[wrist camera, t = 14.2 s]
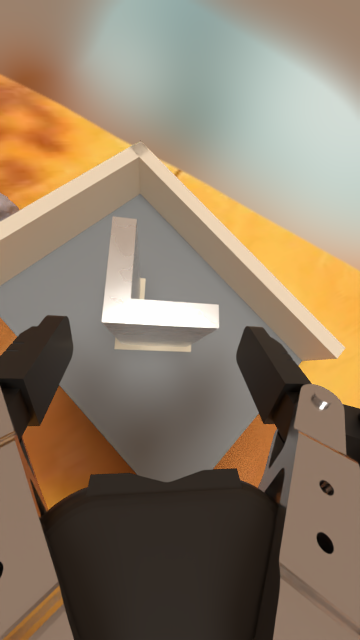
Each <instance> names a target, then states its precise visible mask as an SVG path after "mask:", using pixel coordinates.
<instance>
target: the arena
mask: <svg viewBox="0 0 360 640" xmlns="http://www.w3.org/2000/svg"><path fill="white" fill-rule="evenodd" d="M113 216H114V217H123V218H131V219H137V232H138V249H139V265H140V282H141V287H140V299H143V300H158V301H172V302H187V303H202V304H217V305H219V329H217V330H215V331H214V332H212V333H210V334H208V335H207V336H205V337H203V338H202V339H200V340H198V341H196V342H195V343H193V344H191V345H190V346H188V347H166V346H141V345H122V344H121V343H120V342H119V341H118V340H117V339H116V338H115V336H114V335H113V334H112V333H111V332H110V331H109V330H108V329H107V328H106V327H105V325H104V324H103V323H102V313H103V303H104V294H105V285H106V275H107V266H108V256H109V247H110V237H111V228H112V218H113ZM47 315H56V316H67V317H68V318H69V322H70V328H71V334H72V340H73V355H72V358H71V361H70V363H69V365H68V367H67V369H66V371H65V373H64V375H63V378H62V380H61V382H60V384H59V385H60V386H61V388H62V389H63V390H64V391H65V392H66V393H67V394H68V396H69V397H70V398H71V399H72V400H73V401H74V403H75V404H76V405H77V406H78V407H79V408H80V409H81V411H82V412H83V413H84V414H85V415H86V416H87V417H88V419H89V420H90V421H91V422H92V423H93V424H94V426H95V427H96V428H97V429H98V430H99V431H100V432H101V434H102V435H103V436H104V437H105V438H106V439H107V441H108V442H109V443H110V444H111V445H112V446H113V447H114V449H115V450H116V451H117V452H118V453H119V454H120V456H121V457H122V458H123V459H124V460H125V461H126V462H127V464H128V465H129V466H130V467H131V468H132V469H133V470H134V472H135V473H136V474H137V475H139V476H143V477H147V478H150V479H154V480H158V481H162V482H171V481H174V480H177V479H180V478H182V477H185V476H188V475H191V474H193V473H196V472H199V471H202V470H212V469H213V468H214V467H215V466H216V464H217V463H218V462H219V461H220V460H221V458H222V457H223V456H224V455H225V454H226V452H227V451H228V450H229V449H230V447H231V446H232V445H233V444H234V443H235V441H236V440H237V439H238V438H239V437H240V435H241V434H242V433H243V432H244V431H245V429H246V428H247V427H248V426H249V424H250V423H251V422H252V421H253V420H254V418H255V417H256V416H257V415H258V414H259V412H258V410H257V407H256V405H255V403H254V401H253V398H252V396H251V394H250V392H249V389H248V387H247V385H246V382H245V380H244V378H243V376H242V373H241V371H240V369H239V367H238V364H237V361H236V353H237V349H238V346H239V343H240V340H241V337H242V334H243V331H244V328H245V327H246V326H255V327H263V328H264V329H265V330H266V332H267V333H268V334H269V336H270V337H271V338H274V339H275V340H277V341H278V342H279V343H280V344H282V345H283V347H284V348H285V349H286V351H287V352H288V354H289V355H290V356H291V357H292V359H293V361H295V362H296V364H297V365H299V364H300V363H301V361H307V360H322V359H337V358H338V357H339V355H340V354H341V353H342V352H343V350H344V349H345V347H344V346H343V345H342V344H341V343H340V342H339V341H338V340H337V339H336V338H335V337H334V336H333V335H332V334H331V333H330V332H329V331H328V330H327V329H326V328H325V327H324V326H323V325H322V324H321V323H320V322H319V321H318V320H317V319H316V318H315V317H314V316H313V315H312V314H311V313H310V312H309V311H308V310H307V309H306V308H305V307H304V306H303V305H302V304H301V303H300V302H299V301H298V300H297V299H296V298H295V297H294V296H293V295H292V294H291V293H290V292H289V291H288V289H287V288H286V287H285V286H284V285H283V284H282V283H281V282H280V281H279V280H278V279H277V278H276V277H275V276H274V275H273V274H272V273H271V272H270V271H269V270H268V269H267V268H266V267H265V266H264V265H263V264H262V263H261V262H260V261H259V260H258V259H257V258H256V257H255V256H254V255H253V254H252V253H251V252H250V251H249V250H248V249H247V248H246V247H245V246H244V245H243V244H242V243H241V242H240V241H239V240H238V239H237V238H236V237H235V236H234V235H233V234H232V233H231V232H230V231H229V230H228V229H227V228H226V227H225V226H224V225H223V224H222V223H221V222H220V221H219V220H218V219H217V218H216V217H215V216H214V215H213V214H212V213H211V212H210V211H209V210H208V209H207V208H206V207H205V206H204V205H203V204H202V203H201V202H200V201H199V199H198V198H197V197H196V196H195V195H194V194H193V193H192V192H191V191H190V190H189V189H188V188H187V187H186V186H185V185H184V184H183V183H182V182H181V181H180V180H179V179H178V178H177V177H176V176H175V175H174V174H173V173H172V172H171V171H170V170H169V169H168V168H167V167H166V166H165V165H164V164H163V163H162V162H161V161H160V160H159V159H158V158H157V157H156V156H155V155H154V154H153V153H152V152H151V151H150V150H149V149H148V148H147V147H146V146H145V145H144V144H143V143H142V142H141V141H139V142H137V143H136V144H134V145H132V146H130V147H129V148H127V149H125V150H124V151H122V152H120V153H118V154H117V155H115V156H113V157H111V158H110V159H108V160H106V161H105V162H103V163H101V164H99V165H98V166H96V167H94V168H92V169H91V170H89V171H87V172H85V173H84V174H82V175H80V176H79V177H77V178H75V179H73V180H72V181H70V182H68V183H66V184H65V185H63V186H61V187H60V188H58V189H56V190H54V191H53V192H51V193H49V194H47V195H46V196H44V197H42V198H40V199H39V200H37V201H35V202H34V203H32V204H30V205H28V206H27V207H25V208H23V209H21V210H20V211H18V212H16V213H15V214H13V215H11V216H9V217H8V218H6V219H4V220H2V221H1V222H0V317H1V318H2V320H3V321H4V322H5V323H6V324H7V325H8V326H9V328H10V329H11V330H12V331H13V332H14V333H15V335H16V336H17V337H18V336H19V334H20V333H22V332H23V331H25V330H27V329H29V328H30V327H32V326H38V325H39V324H40V323H41V321H42V320H43V319H44V318H45V317H46V316H47Z"/></svg>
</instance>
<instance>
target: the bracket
mask: <svg viewBox="0 0 360 640" xmlns="http://www.w3.org/2000/svg"><path fill="white" fill-rule="evenodd" d="M140 287H141V282H140V265H139V249H138V232H137V219H131V218H123V217H114V216H113V218H112V228H111V237H110V247H109V256H108V266H107V275H106V285H105V294H104V303H103V313H102V323H103V324H104V325H105V327H106V328H107V329H108V330H109V331H110V332H111V333H112V334H113V335H114V336H115V338H116V339H117V340H118V341H119V342H120V343H121V344H122V345H141V346H166V347H188V346H190V345H191V344H193V343H195V342H196V341H198V340H200V339H202V338H203V337H205V336H207V335H208V334H210V333H212V332H214V331H215V330H217V329H219V305H217V304H202V303H187V302H172V301H158V300H143V299H140Z"/></svg>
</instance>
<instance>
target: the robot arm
mask: <svg viewBox="0 0 360 640" xmlns="http://www.w3.org/2000/svg"><path fill="white" fill-rule="evenodd" d="M72 355H73V340H72V334H71V328H70V322H69V318H68V317H67V316H56V315H47V316H46V317H45V318H44V319H43V320H42V321H41V323H40V324H39V325H38V326H32V327H30V328H29V329H27V330H25V331H23V332H22V333H20V334H19V336H18V337H17V338H16V339H15V340H14V341H13V344H11V345H10V346H9V347H8V348H7V349H6V351H5V352H4V353H3V354H2V355H1V356H0V640H360V409H359V408H355V407H351V406H348V405H344V404H342V402H341V401H340V400H339V399H338V398H337V396H335V395H334V394H333V393H332V392H330V391H329V390H327V389H325V388H323V387H321V386H318V385H314V384H312V383H311V382H310V381H309V380H308V378H307V377H306V376H305V374H304V373H303V372H302V370H301V369H300V368H299V366H298V365H297V364H296V362H295V361H293V359H292V357H291V356H290V355H289V354H288V352H287V351H286V349H285V348H284V347H283V345H282V344H280V343H279V342H278V341H277V340H275V339H274V338H271V337H270V336H269V334H268V333H267V332H266V330H265V329H264V328H263V327H255V326H246V327H245V328H244V331H243V334H242V337H241V340H240V343H239V346H238V349H237V353H236V361H237V364H238V367H239V369H240V371H241V373H242V376H243V378H244V380H245V382H246V385H247V387H248V389H249V392H250V394H251V396H252V398H253V401H254V403H255V405H256V407H257V410H258V412H259V414H260V417H261V419H262V421H263V423H264V424H275V425H276V427H277V430H276V431H275V434H274V437H273V441H272V445H271V449H270V452H269V456H268V460H267V464H266V468H265V471H264V474H263V477H262V480H261V482H260V484H259V486H258V488H257V487H255V486H253V485H251V484H249V483H246V482H244V481H241V480H240V478H239V475H238V471H237V468H236V469H213V470H202V471H199V472H196V473H193V474H191V475H188V476H185V477H182V478H180V479H177V480H174V481H171V482H162V481H158V480H154V479H150V478H147V477H143V476H139V475H135V474H131V473H118V474H95V475H91V476H90V480H89V485H88V487H87V488H84V489H81V490H79V491H77V492H75V493H73V494H71V495H69V496H68V497H66V498H64V499H63V500H61V501H60V502H58V503H57V504H56V505H54V506H53V507H52V508H50V509H49V510H48V508H47V505H46V503H45V500H44V497H43V495H42V492H41V490H40V487H39V484H38V481H37V478H36V475H35V472H34V469H33V467H32V464H31V461H30V458H29V455H28V452H27V449H26V446H25V443H24V440H23V437H22V435H23V433H24V431H25V429H26V427H27V426H40V424H41V422H42V420H43V418H44V416H45V414H46V412H47V410H48V407H49V405H50V403H51V401H52V399H53V397H54V395H55V392H56V390H57V388H58V386H59V384H60V382H61V380H62V378H63V375H64V373H65V371H66V369H67V367H68V365H69V363H70V361H71V358H72Z"/></svg>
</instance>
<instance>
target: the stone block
mask: <svg viewBox="0 0 360 640" xmlns="http://www.w3.org/2000/svg"><path fill="white" fill-rule="evenodd" d="M18 211H20V210H19V208H18V207H17V206H16V205H15V204H14V203H13V202H11V201H10V200H8V197H6V196H4V195H3V194H1V193H0V222H1V221H2V220H4V219H6V218H8V217H9V216H11V215H13V214H15V213H16V212H18Z"/></svg>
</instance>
